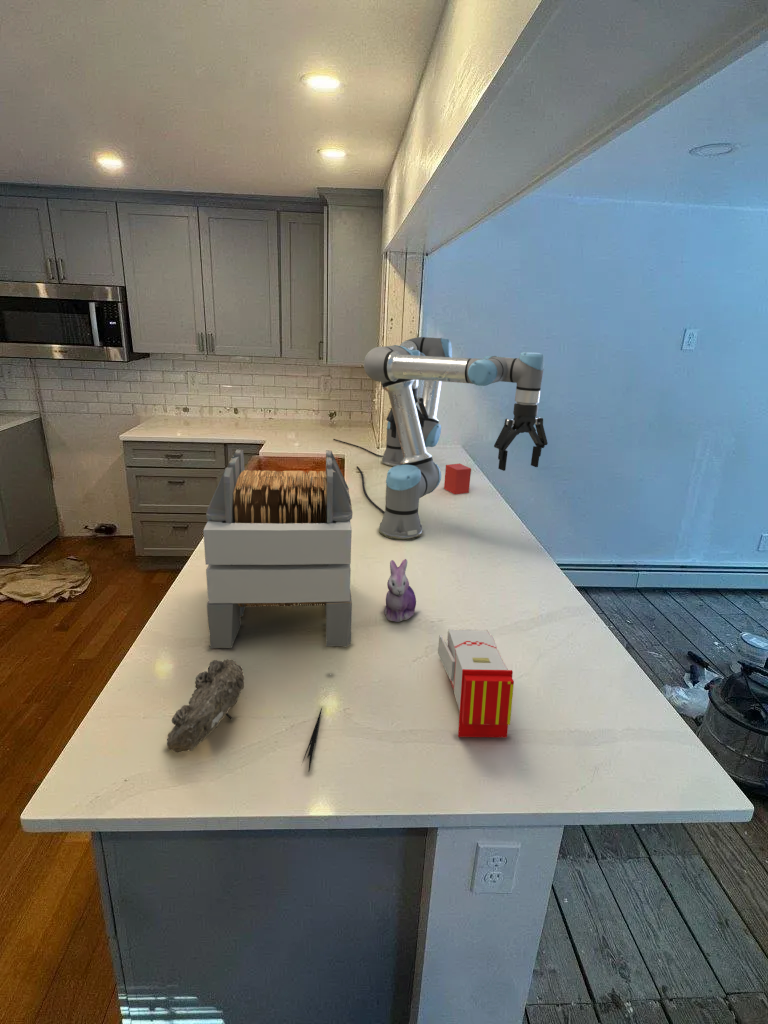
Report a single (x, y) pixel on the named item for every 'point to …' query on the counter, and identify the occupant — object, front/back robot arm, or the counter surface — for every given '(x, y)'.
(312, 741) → the feather
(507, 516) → the counter surface
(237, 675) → the fossil
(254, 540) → the record crate
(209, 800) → the counter surface
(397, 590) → the figurine
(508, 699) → the toy
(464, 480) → the brick
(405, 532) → the front robot arm
